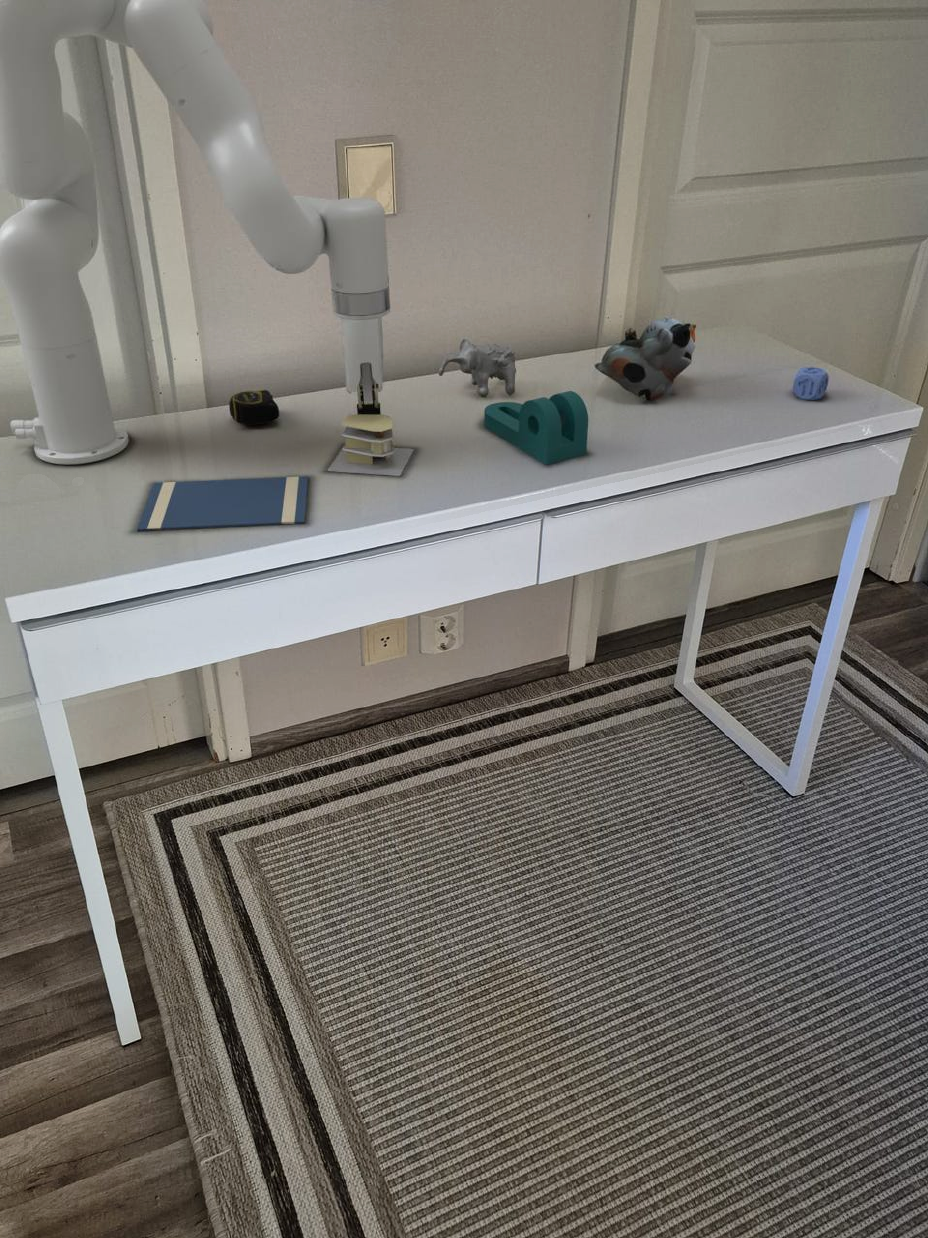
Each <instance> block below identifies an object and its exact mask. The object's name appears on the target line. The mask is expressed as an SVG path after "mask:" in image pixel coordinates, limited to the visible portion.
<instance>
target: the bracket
mask: <svg viewBox="0 0 928 1238" xmlns="http://www.w3.org/2000/svg"><path fill="white" fill-rule="evenodd" d="M483 413H484V414H483V416H484V420H483V426H484V428H485V429H486V430H488V431H489V432H491V433H493V434H494V435H496V436H497V437H499V438H501V439H502V440H504V441H506V442H507V443H509V444H511V445H513V446H514V447H516V448H518V449H519V450H521V451H523V452H525V453H526V454H528V455H529V456H531V457H533V458H534V459H536V460H538V461H540V463H543V464H545V465H546V466H547V465H552V464H555V463H558V462H561V461H562V462H563V461H565V460H569V459H574V458H577V457H580V456H585V455H587V448H588V434H589V433H588V432H589V413H588V409H587V406H586V404H585V401H584V400H583V398H582V397H581V396H580V395H579V394H578V393H577V392H576V391H573V390H568V391H567V390H566V391H563V392H559V393H555V394H552V395H551V396H550V397H549V398H548V397H545V396H543V397H538V398H533V399H529V400H526V401H524V402H523V403H519V402H515V401H500V402H494V403H491V404H487V406H485V408H484V411H483Z"/></svg>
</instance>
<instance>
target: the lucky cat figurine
mask: <svg viewBox="0 0 928 1238" xmlns="http://www.w3.org/2000/svg"><path fill="white" fill-rule="evenodd" d="M696 328H697V325H696V324H691V323H689V322H688V323H685V321H682V320H680V319H678V318H676V317H675V318H674V317H663V318H660V319H656V320H653V321H650V324H648V325H647V326H646V328H645V329H643V332H642V333H641V335H640V337H639V338H638V336H637V331H636V330H635V329H634V328H633V327H629V328H628V329H627V330H626V331H625V333H624V340H622V341H620V342H619V343H616V344H613V345H611V346H610V347H609V348H608V349H607V350H606V351H605V352H604V354H603V355H602V358H601V361H600V362H597V363H595V364H594V368H595V369H596V370H597V371H598V372H600V374H602V375H604V376H605V377H608V378H609V379H611V380H612V381H614V382H615V383H617V384H618V385H619V386H620V387H621V388H622V389H623V390H624V391H626V392H629V393H631V394H632V395H634V396H636V397H639V398H640V397H642V396H645V401H646V402H655V400H659V399H661V398H664V397H667V396H669V395H670V394H671V393H672V390H673V388H674V382H675V379H676V378H677V377H678V376H679V375H680V374H681V373H683V372H684V371H685V370H686V369H687V368H688V367H689V366H690V365H691V364H692V362H693V359H692V358H693V354H694V351H695V349H696V347H697V346H696V344H695V343H696V333H695V331H696Z"/></svg>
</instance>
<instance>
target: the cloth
mask: <svg viewBox="0 0 928 1238" xmlns="http://www.w3.org/2000/svg"><path fill="white" fill-rule="evenodd" d="M308 485H309V476H308V475H305V476H282V477H259V478H238V479H237V478H233V479H214V480H212V479H210V480H190V481H189V480H188V481H187V480H186V481H163V482H154V483H153V485H152V486H151V489H150V492H149V495H148V498H147V501H146V503H145V506H144V508H143V512H142V515H141V516H140V519H139V522H138V525H137V528H136V531H137V532H146V531H147V532H148V531H150V532H151V531H169V530H170V531H171V530H191V529H192V530H193V529H212V528H214V529H215V528H232V527H233V528H234V527H256V526H257V527H258V526H276V525H277V526H278V525H279V526H280V525H297V524H298V525H300V524H305V523H306V513H307V511H306V510H307V499H308V498H307V497H308Z"/></svg>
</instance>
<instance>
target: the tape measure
mask: <svg viewBox="0 0 928 1238" xmlns="http://www.w3.org/2000/svg"><path fill="white" fill-rule="evenodd" d="M228 405H229V406H228V407H229V414H230V416H231V418H232V419H233V421H234V422H236V423H238V424H241V425H246V426H250V425H251V426H257V425H262V424H264V423H269V422H270V423H271V422H273V421H276V420H278V419H279V417H280V410H279V406H278V404H277V403H276V402H275V400H274V398H273V395H272V394H271V392H270V391H269V390H267V389H263V390H245V391H240V392H237V393H234V394H233V395H232V396H231V397H230V399H229V402H228Z"/></svg>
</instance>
